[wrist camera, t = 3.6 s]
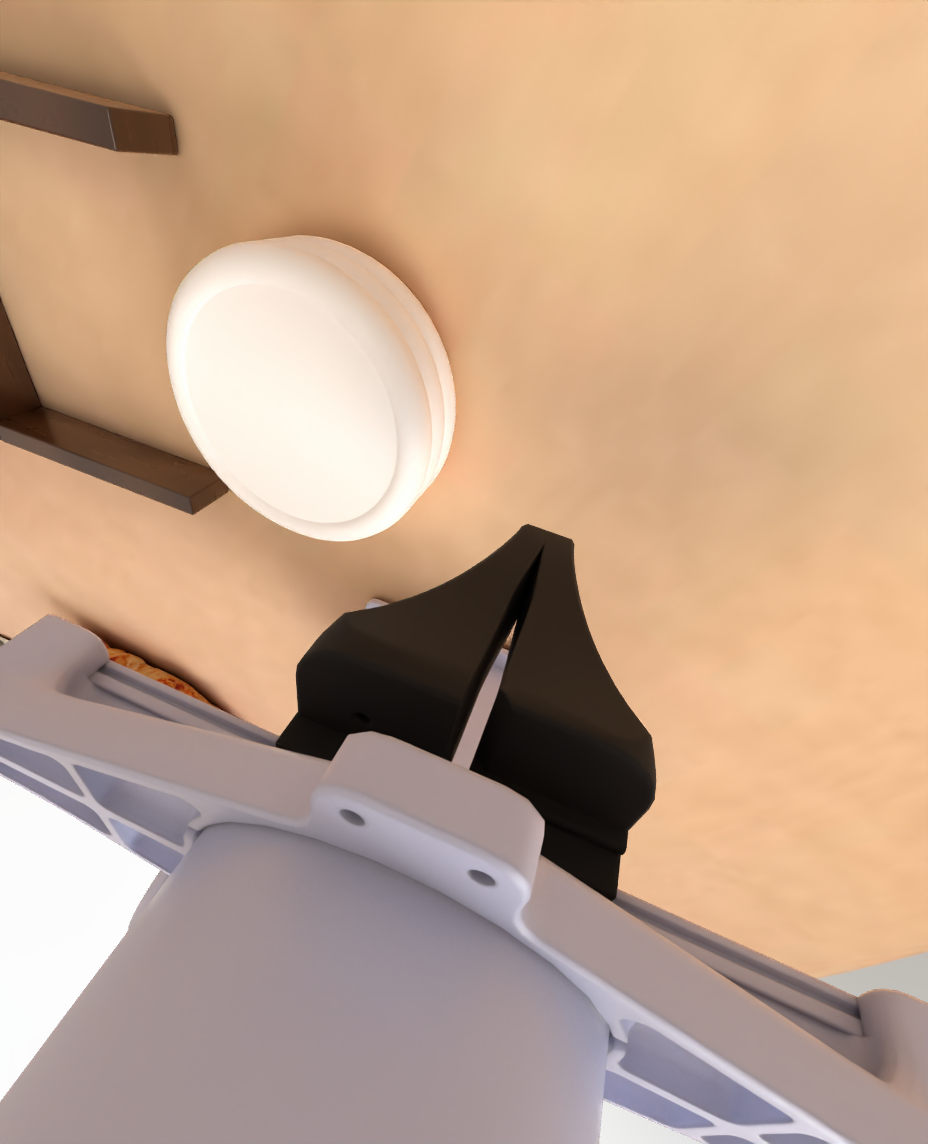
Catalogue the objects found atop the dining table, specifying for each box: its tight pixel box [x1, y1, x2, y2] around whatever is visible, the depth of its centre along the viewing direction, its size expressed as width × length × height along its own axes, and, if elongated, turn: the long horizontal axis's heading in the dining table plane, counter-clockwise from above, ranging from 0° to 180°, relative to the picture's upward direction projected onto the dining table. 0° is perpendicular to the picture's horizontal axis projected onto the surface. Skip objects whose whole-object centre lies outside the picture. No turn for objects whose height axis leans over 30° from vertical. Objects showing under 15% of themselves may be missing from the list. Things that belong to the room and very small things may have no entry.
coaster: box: [166, 235, 456, 541], centre depth 18 cm, size 10×10×4 cm
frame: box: [0, 71, 228, 515], centre depth 20 cm, size 12×14×2 cm
